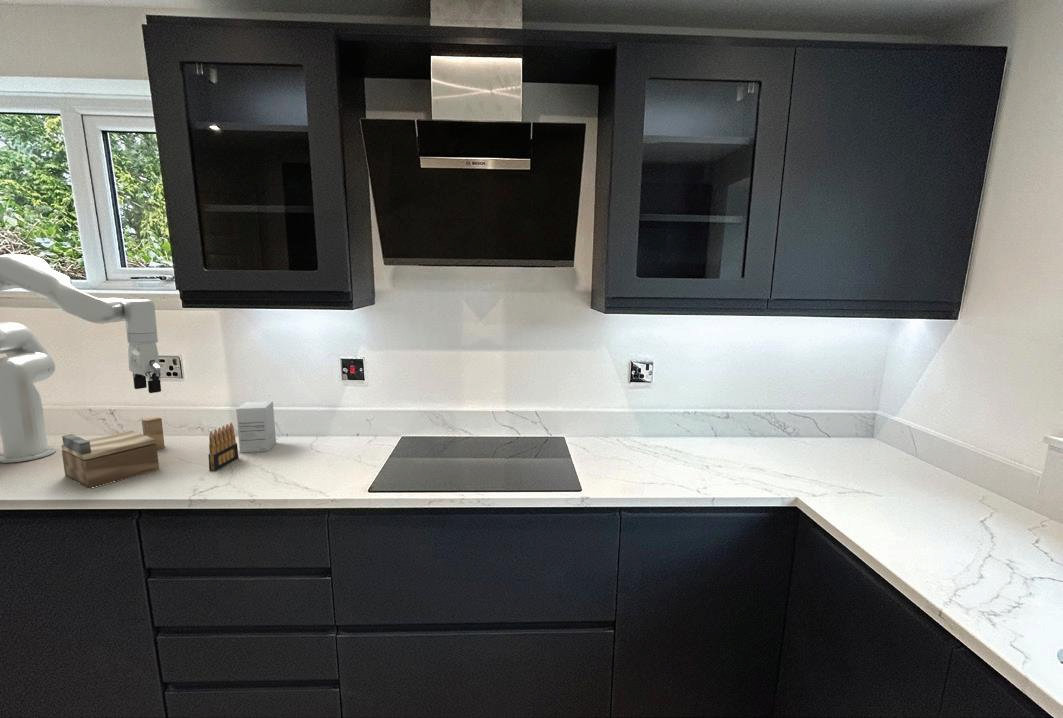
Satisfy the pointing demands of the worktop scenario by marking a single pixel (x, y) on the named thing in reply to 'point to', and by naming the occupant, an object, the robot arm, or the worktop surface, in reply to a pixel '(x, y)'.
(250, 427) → the supplement box
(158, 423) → the brown wooden block
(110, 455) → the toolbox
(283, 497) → the worktop surface
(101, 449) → the lid
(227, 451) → the ammunition clip
